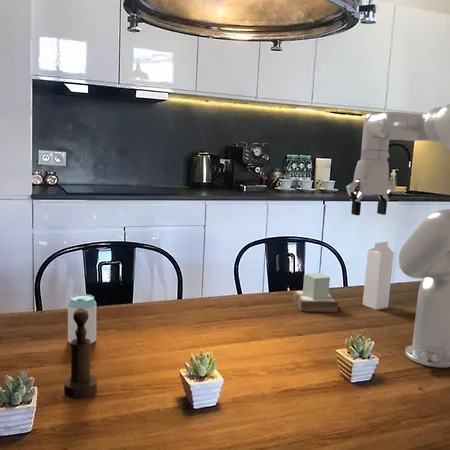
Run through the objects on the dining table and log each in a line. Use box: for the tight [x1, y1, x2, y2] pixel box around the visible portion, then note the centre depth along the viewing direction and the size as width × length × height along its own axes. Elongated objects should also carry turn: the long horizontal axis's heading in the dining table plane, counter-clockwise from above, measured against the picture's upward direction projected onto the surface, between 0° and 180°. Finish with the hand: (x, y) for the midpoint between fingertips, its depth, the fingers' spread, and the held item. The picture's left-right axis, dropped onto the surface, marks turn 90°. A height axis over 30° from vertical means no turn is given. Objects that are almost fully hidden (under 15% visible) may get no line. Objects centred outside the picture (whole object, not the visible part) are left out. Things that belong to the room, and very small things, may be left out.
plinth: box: [292, 290, 339, 313], centre depth 177 cm, size 12×12×3 cm
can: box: [67, 293, 97, 345], centre depth 136 cm, size 7×7×12 cm
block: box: [302, 272, 331, 299], centre depth 176 cm, size 6×6×7 cm
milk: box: [362, 241, 395, 311], centre depth 178 cm, size 6×6×22 cm
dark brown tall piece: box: [63, 309, 98, 400], centre depth 110 cm, size 7×6×18 cm
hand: (368, 214), depth 158 cm, fingers open, 9 cm apart
